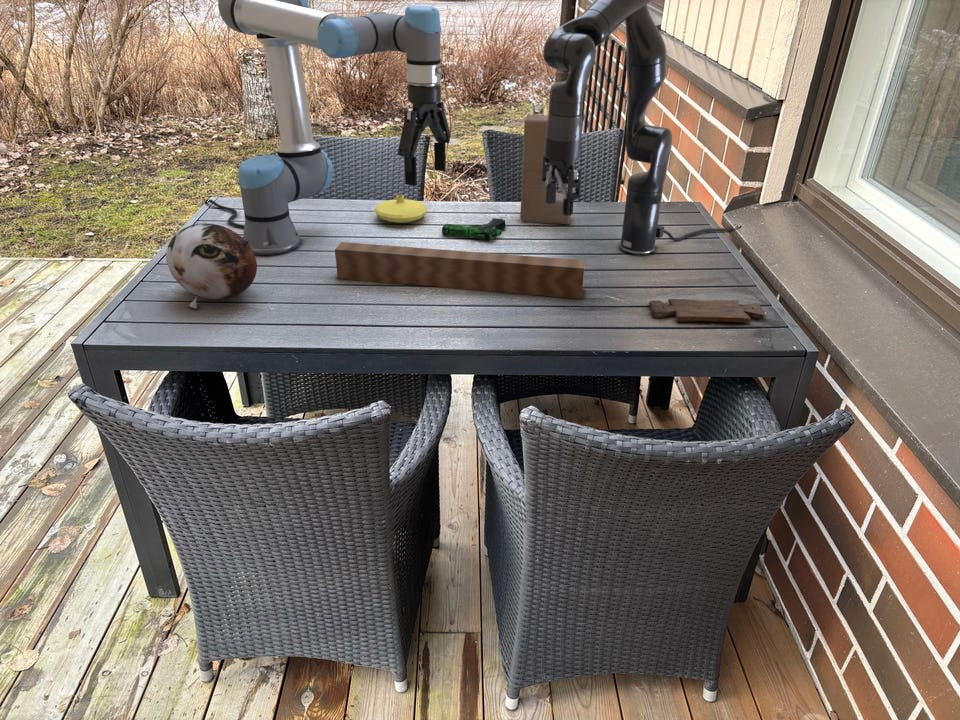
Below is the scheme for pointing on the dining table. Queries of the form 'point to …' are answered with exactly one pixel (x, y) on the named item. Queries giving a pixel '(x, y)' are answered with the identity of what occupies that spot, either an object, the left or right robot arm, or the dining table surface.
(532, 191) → the decorative block
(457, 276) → the beam
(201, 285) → the cat face balloon
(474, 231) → the handgun
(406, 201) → the yellow round flat dome
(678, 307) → the dark wooden board
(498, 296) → the dining table surface
